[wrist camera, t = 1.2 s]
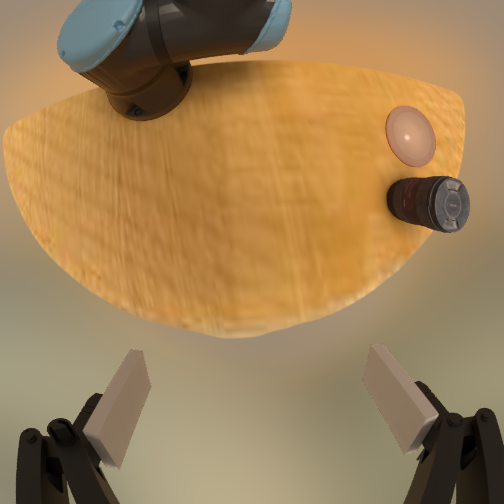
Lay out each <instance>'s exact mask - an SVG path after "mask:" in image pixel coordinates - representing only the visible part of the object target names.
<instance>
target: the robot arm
mask: <svg viewBox="0 0 504 504" xmlns="http://www.w3.org/2000/svg"><path fill="white" fill-rule="evenodd" d="M291 8H292V3H291V1H290V0H83V1H81V2H80V3H79V4H78V5H77V7H76V8H75V9H74V10H73V12H72V13H71V14H70V15H69V16H68V18H67V19H66V21H65V23H64V24H63V26H62V28H61V31H60V34H59V37H58V42H57V49H58V53H59V56H60V58H61V59H62V60H63V61H64V62H65V63H66V64H68V65H69V66H70V68H71V69H72V70H74V72H77V73H79V74H80V75H82V76H83V77H85V78H87V79H88V80H90V81H91V82H93V83H95V84H96V85H98V86H99V87H101V88H102V89H104V90H105V91H106V94H107V97H108V99H109V102H110V104H111V105H112V107H113V108H114V109H115V110H116V111H117V112H118V113H120V114H121V115H123V116H125V117H127V118H129V119H132V120H139V121H144V120H151V119H154V118H157V117H160V116H162V115H164V114H166V113H168V112H169V111H171V110H172V109H173V108H175V107H176V106H177V105H178V104H179V103H180V102H181V101H182V99H183V98H184V97H185V95H186V94H187V92H188V90H189V88H190V85H191V82H192V67H191V64H190V62H189V60H194V59H200V58H207V57H214V56H222V55H230V54H239V55H244V54H247V53H250V52H260V51H268V50H270V49H273V48H274V47H276V46H277V45H278V44H279V43H280V42H281V41H282V39H283V37H284V35H285V33H286V30H287V27H288V24H289V20H290V14H291ZM362 381H363V383H364V384H365V386H366V388H367V389H368V391H369V393H370V395H371V396H372V398H373V400H374V401H375V403H376V405H377V407H378V409H379V410H380V412H381V414H382V415H383V417H384V419H385V421H386V423H387V424H388V426H389V428H390V430H391V432H392V433H393V435H394V437H395V439H396V441H397V442H398V444H399V446H400V448H401V449H402V451H403V453H404V455H406V454H409V453H412V452H414V451H417V450H418V448H419V447H420V445H421V444H423V446H424V449H423V451H422V452H421V454H420V455H419V457H418V458H417V460H419V459H420V461H419V464H418V467H417V470H416V473H415V475H414V478H413V481H412V484H411V486H410V489H409V492H408V494H407V497H406V499H405V501H404V504H450V503H451V500H452V496H453V492H454V487H455V484H456V504H504V445H503V441H502V438H501V433H500V430H499V426H498V423H497V419H496V416H495V414H494V412H493V411H492V410H490V409H488V408H481V409H479V410H478V411H477V413H476V414H475V416H473V417H466V418H463V417H462V416H461V415H459V414H457V413H449V412H448V411H447V410H446V409H445V407H444V406H443V405H442V404H441V402H440V401H439V400H438V399H437V397H435V395H434V394H433V393H432V392H431V390H430V389H429V388H428V386H427V385H425V384H424V383H422V382H420V381H417V382H413V380H412V379H411V378H410V377H409V375H408V374H407V373H406V372H405V370H404V369H403V368H402V367H401V366H400V365H399V363H398V362H397V361H396V360H395V358H394V357H393V356H392V355H391V353H390V352H389V351H388V350H387V349H386V348H385V346H384V345H383V344H382V343H377V344H371V345H370V350H369V354H368V358H367V362H366V366H365V370H364V374H363V378H362ZM150 389H151V384H150V380H149V376H148V373H147V368H146V364H145V360H144V356H143V351H139V350H130V351H129V353H128V354H127V356H126V358H125V359H124V361H123V362H122V364H121V366H120V367H119V369H118V371H117V372H116V374H115V375H114V377H113V379H112V380H111V382H110V384H109V386H108V387H107V389H106V391H105V392H104V394H99V393H95V394H94V395H92V396H91V397H90V398H89V399H88V400H87V402H86V404H85V406H84V407H83V408H82V410H81V412H80V413H79V415H78V417H77V418H76V420H75V422H74V423H73V425H72V424H71V422H70V421H68V420H67V419H63V418H58V419H55V420H52V421H51V422H50V423H49V425H48V426H47V432H48V434H49V435H50V437H48V436H42V435H41V433H40V432H39V431H38V430H37V429H35V428H28V429H26V430H24V431H23V432H22V433H21V435H20V440H19V448H18V458H17V472H16V504H69V497H68V489H67V482H68V485H69V487H70V489H71V492H72V495H73V497H74V499H75V502H76V504H120V503H119V502H118V500H117V498H116V497H115V495H114V493H113V491H112V489H111V487H110V485H109V484H108V482H107V480H106V478H105V476H104V474H103V472H102V470H101V468H100V467H99V463H100V461H101V460H102V462H103V463H104V465H105V466H108V467H111V468H115V469H118V470H120V468H121V464H122V462H123V459H124V456H125V453H126V451H127V448H128V445H129V442H130V440H131V437H132V435H133V432H134V429H135V427H136V424H137V422H138V419H139V416H140V414H141V411H142V409H143V406H144V404H145V401H146V399H147V396H148V394H149V391H150Z"/></svg>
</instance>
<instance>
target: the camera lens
mask: <svg viewBox="0 0 504 504" xmlns="http://www.w3.org/2000/svg"><path fill="white" fill-rule="evenodd" d="M387 202H388V207H389V209H390V211H391V212H392V214H393V215H394V216H396V217H397V218H398V219H400V220H402V221H405V222H407V223H410V224H415V225H421V226H425V227H427V228H430V229H432V230H437V231H441V232H444V233H451V232H456V231H458V230H460V229H461V228H462V227H463V226H464V225H465V223H466V221H467V219H468V216H469V211H470V199H469V194H468V192H467V189H466V187H465V186H464V184H462V182H461V181H460V180H458V179H455V178H452V177H449V176H432V177H427V178H406V179H402V180H400V181H398V182H397V183H395V184H393V185H392V186H391V188H390V189H389V192H388V195H387Z"/></svg>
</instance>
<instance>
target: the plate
mask: <svg viewBox="0 0 504 504" xmlns="http://www.w3.org/2000/svg"><path fill="white" fill-rule="evenodd" d="M386 136H387V140H388V143H389V145H390V147H391V149H392V151H393V152H394V154H395V155H396V156H397V157H398V159H400V160H401V161H402V162H403V163H405V164H407V165H409V166H412V167H421V166H424V165H426V164H428V163H429V162H430V161H431V159H432V158H433V156H434V153H435V149H436V139H435V134H434V131H433V128H432V126H431V124H430V122H429V121H428V119H427V118H426V117H425V116H424V115H423V114H422V113H421V112H420V111H419V110H417V109H415V108H413V107H410V106H400V107H397V108H396V109H394V110H393V111H392V112H391V113H390V114H389V116H388V118H387V122H386Z"/></svg>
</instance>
